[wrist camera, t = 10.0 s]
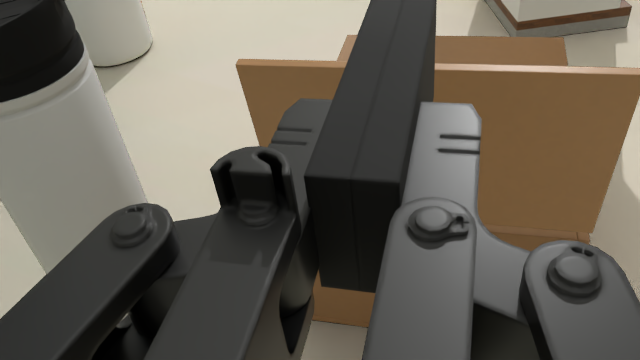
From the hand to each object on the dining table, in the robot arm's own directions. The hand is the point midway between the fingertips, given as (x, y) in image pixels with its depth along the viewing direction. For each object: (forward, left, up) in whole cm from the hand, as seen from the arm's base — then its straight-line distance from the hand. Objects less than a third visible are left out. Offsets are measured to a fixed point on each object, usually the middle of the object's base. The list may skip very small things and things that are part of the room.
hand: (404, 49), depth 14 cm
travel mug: (-18, -5, -21) cm, 28 cm away
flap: (-3, +5, -8) cm, 9 cm away
